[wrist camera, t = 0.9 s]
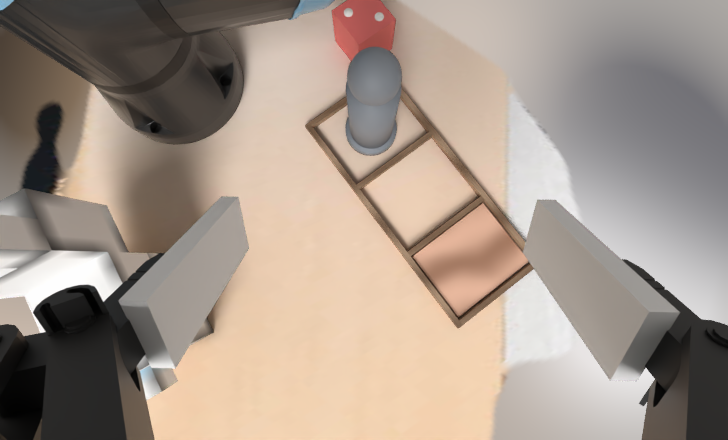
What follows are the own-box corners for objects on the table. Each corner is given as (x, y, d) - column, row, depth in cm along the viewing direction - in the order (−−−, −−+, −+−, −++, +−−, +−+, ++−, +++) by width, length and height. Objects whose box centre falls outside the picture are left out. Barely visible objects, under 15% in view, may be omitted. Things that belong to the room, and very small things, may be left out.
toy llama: (162, 387, 36) (-89, 548, 16) (97, 247, 38) (-202, 234, 18) (223, 352, 36) (54, 466, 16) (156, 216, 38) (-69, 169, 18)
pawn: (336, 126, 39) (321, 53, 25) (375, 98, 40) (383, 11, 26) (365, 165, 39) (367, 112, 25) (405, 136, 39) (429, 68, 25)
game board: (306, 127, 39) (304, 125, 38) (385, 72, 40) (385, 68, 39) (456, 326, 37) (458, 328, 36) (537, 262, 38) (541, 262, 37)
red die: (335, 40, 41) (331, 9, 36) (367, 19, 41) (368, -15, 36) (359, 71, 40) (359, 44, 35) (391, 48, 41) (396, 18, 35)
